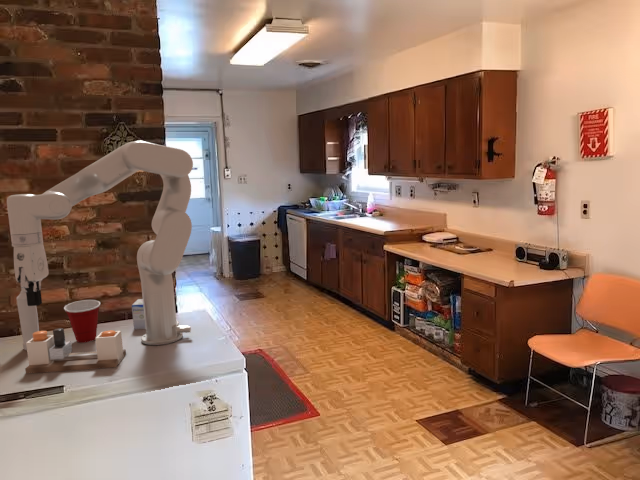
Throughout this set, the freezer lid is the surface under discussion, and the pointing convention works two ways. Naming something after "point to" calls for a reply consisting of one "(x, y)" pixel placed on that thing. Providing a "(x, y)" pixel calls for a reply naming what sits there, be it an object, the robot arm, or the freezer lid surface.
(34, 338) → the gauge button
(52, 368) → the rail board
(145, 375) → the freezer lid surface
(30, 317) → the bottle
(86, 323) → the plastic cup
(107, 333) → the ball
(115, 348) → the pair of ball holders
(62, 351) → the carriage
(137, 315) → the medicine box
